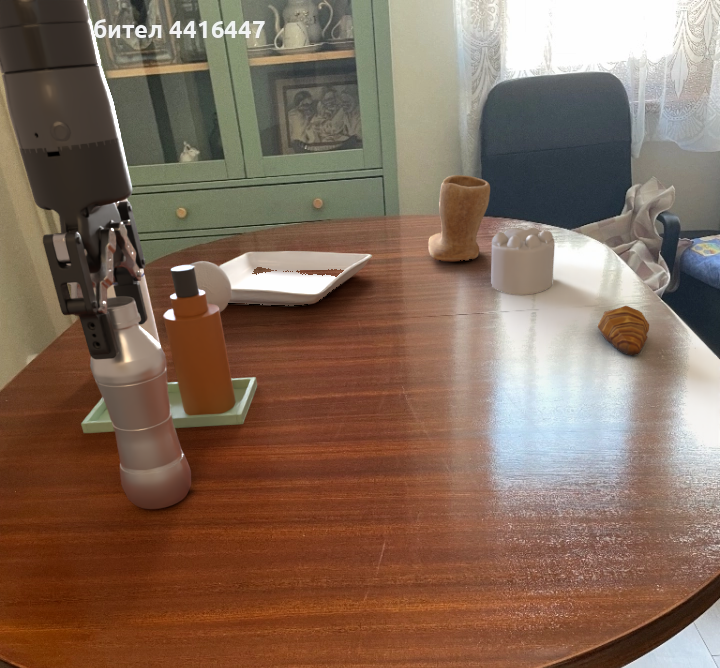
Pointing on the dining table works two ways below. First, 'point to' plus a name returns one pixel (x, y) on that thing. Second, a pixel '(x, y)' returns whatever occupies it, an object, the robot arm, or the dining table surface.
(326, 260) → the square plate
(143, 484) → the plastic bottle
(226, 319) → the dining table surface
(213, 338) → the amber bottle
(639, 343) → the croissant
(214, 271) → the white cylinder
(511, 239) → the lumpy-topped squat cylinder
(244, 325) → the dining table surface
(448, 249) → the clay boot
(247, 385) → the tray
